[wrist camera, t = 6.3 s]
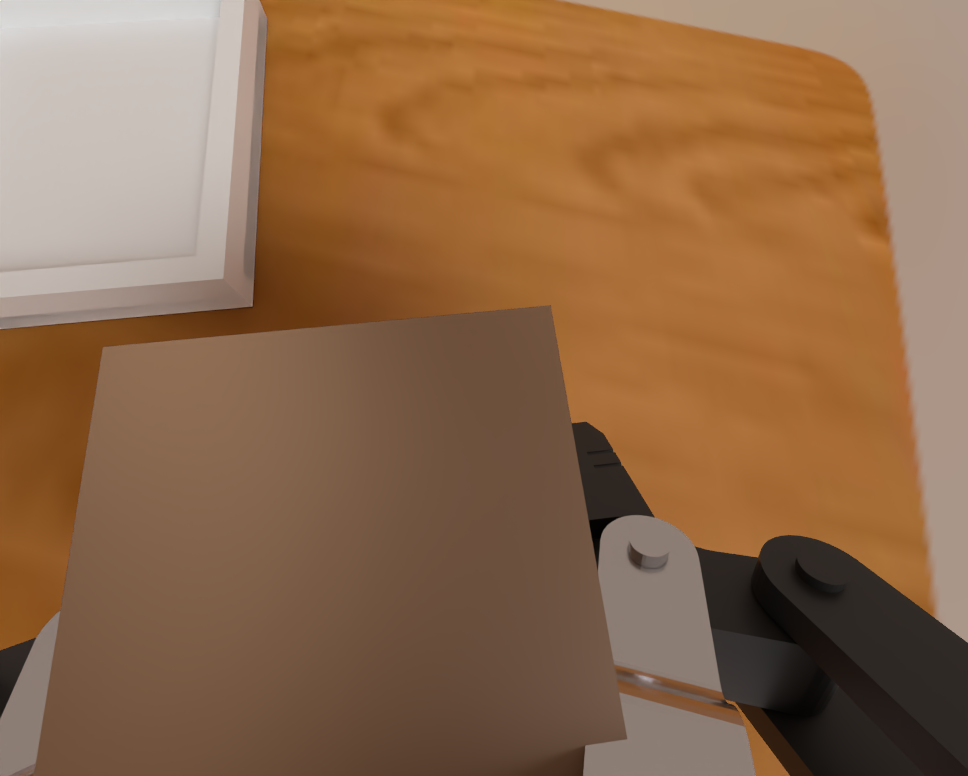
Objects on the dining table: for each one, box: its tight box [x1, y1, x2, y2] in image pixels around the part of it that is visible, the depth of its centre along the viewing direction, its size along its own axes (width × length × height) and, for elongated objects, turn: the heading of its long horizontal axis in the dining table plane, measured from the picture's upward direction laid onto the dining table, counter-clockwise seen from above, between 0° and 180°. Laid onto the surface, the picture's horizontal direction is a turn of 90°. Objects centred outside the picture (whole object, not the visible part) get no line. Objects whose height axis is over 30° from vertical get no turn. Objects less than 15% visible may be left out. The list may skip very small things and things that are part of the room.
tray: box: [0, 0, 267, 329], centre depth 17 cm, size 13×16×2 cm
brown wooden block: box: [34, 306, 627, 776], centre depth 9 cm, size 4×4×11 cm
